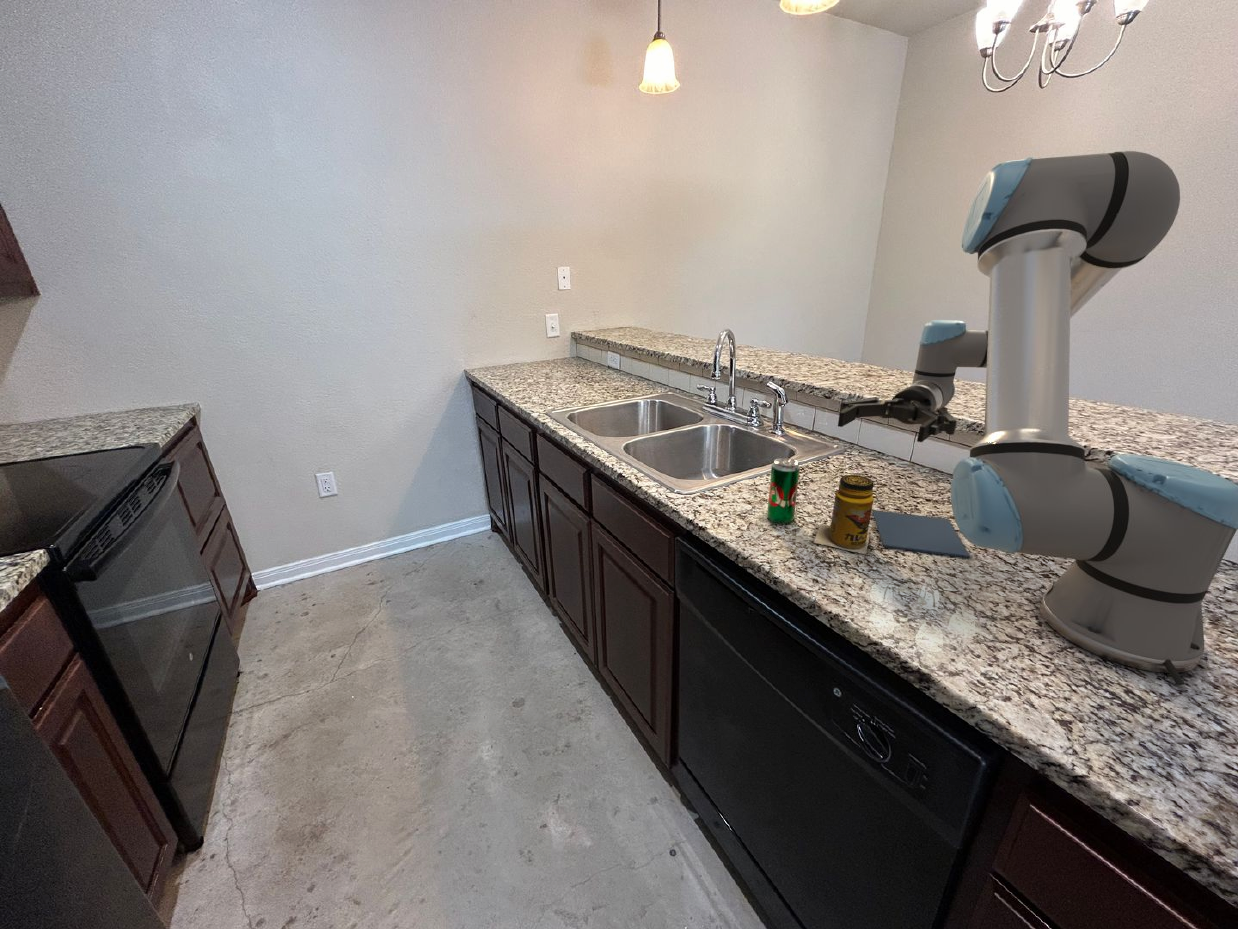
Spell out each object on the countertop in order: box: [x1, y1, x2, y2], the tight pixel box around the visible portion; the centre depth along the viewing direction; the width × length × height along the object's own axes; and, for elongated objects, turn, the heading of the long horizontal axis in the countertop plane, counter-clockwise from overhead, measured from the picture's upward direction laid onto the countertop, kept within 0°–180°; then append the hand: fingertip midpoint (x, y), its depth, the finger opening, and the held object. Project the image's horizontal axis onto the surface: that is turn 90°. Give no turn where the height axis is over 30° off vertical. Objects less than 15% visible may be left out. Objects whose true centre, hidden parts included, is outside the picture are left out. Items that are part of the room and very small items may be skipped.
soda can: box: [766, 457, 801, 525], centre depth 95 cm, size 5×5×12 cm
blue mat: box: [872, 509, 971, 559], centre depth 91 cm, size 14×13×1 cm
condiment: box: [813, 474, 875, 555], centre depth 87 cm, size 7×8×12 cm
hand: (878, 426), depth 89 cm, fingers open, 13 cm apart
